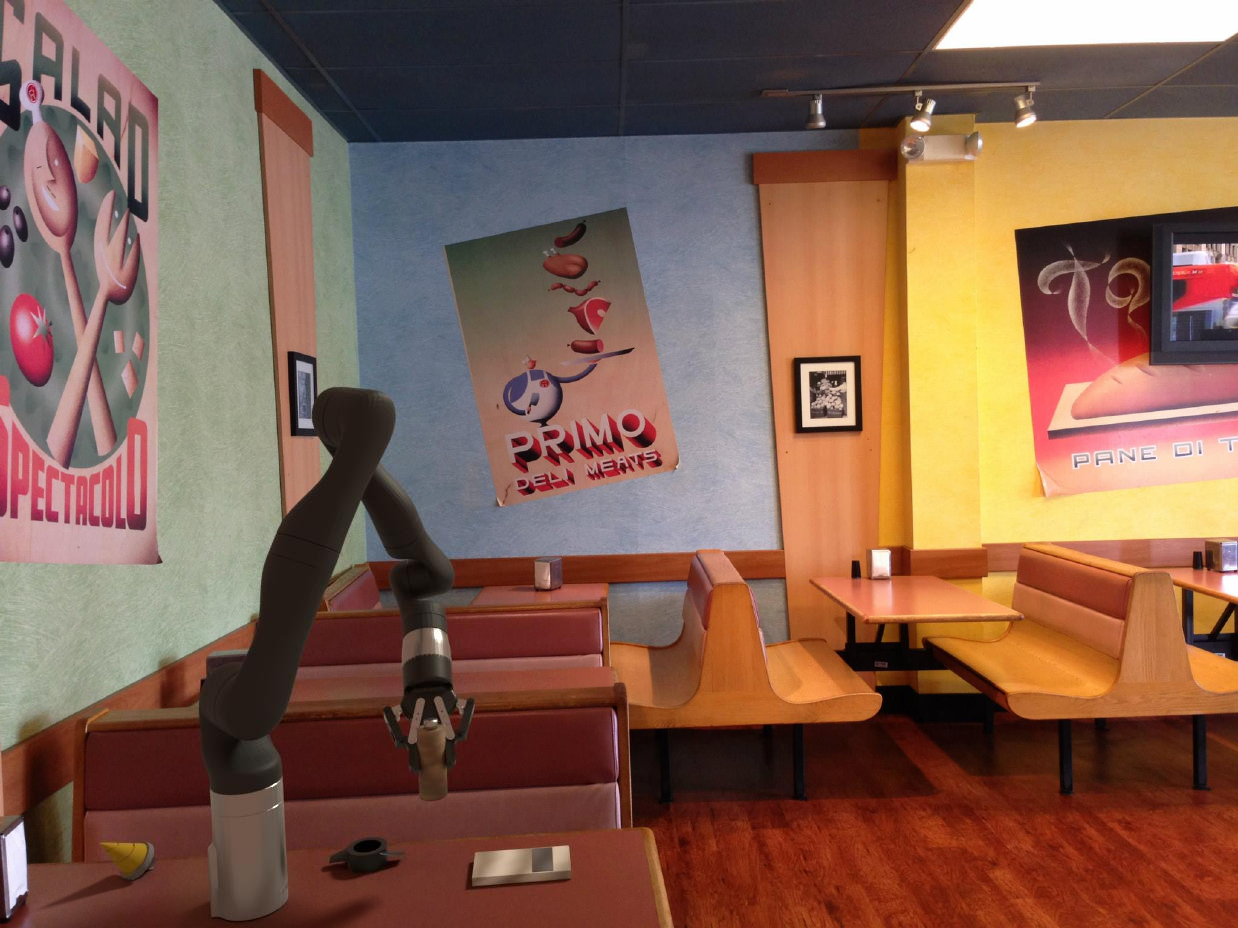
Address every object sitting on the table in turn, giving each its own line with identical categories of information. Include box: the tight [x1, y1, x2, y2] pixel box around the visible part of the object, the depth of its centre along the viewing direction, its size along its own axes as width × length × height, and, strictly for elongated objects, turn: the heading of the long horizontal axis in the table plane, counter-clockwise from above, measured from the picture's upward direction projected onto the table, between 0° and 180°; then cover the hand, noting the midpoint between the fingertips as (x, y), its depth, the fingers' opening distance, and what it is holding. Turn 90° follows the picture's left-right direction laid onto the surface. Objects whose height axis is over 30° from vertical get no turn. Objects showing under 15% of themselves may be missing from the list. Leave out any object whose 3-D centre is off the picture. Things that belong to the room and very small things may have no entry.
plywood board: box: [471, 845, 572, 887], centre depth 134 cm, size 14×8×1 cm, turn 96°
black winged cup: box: [328, 836, 407, 874], centre depth 137 cm, size 8×10×3 cm
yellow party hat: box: [99, 840, 159, 881], centre depth 134 cm, size 5×5×10 cm
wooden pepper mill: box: [417, 718, 449, 802], centre depth 133 cm, size 4×4×11 cm
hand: (433, 769), depth 131 cm, fingers closed on wooden pepper mill, 4 cm apart
